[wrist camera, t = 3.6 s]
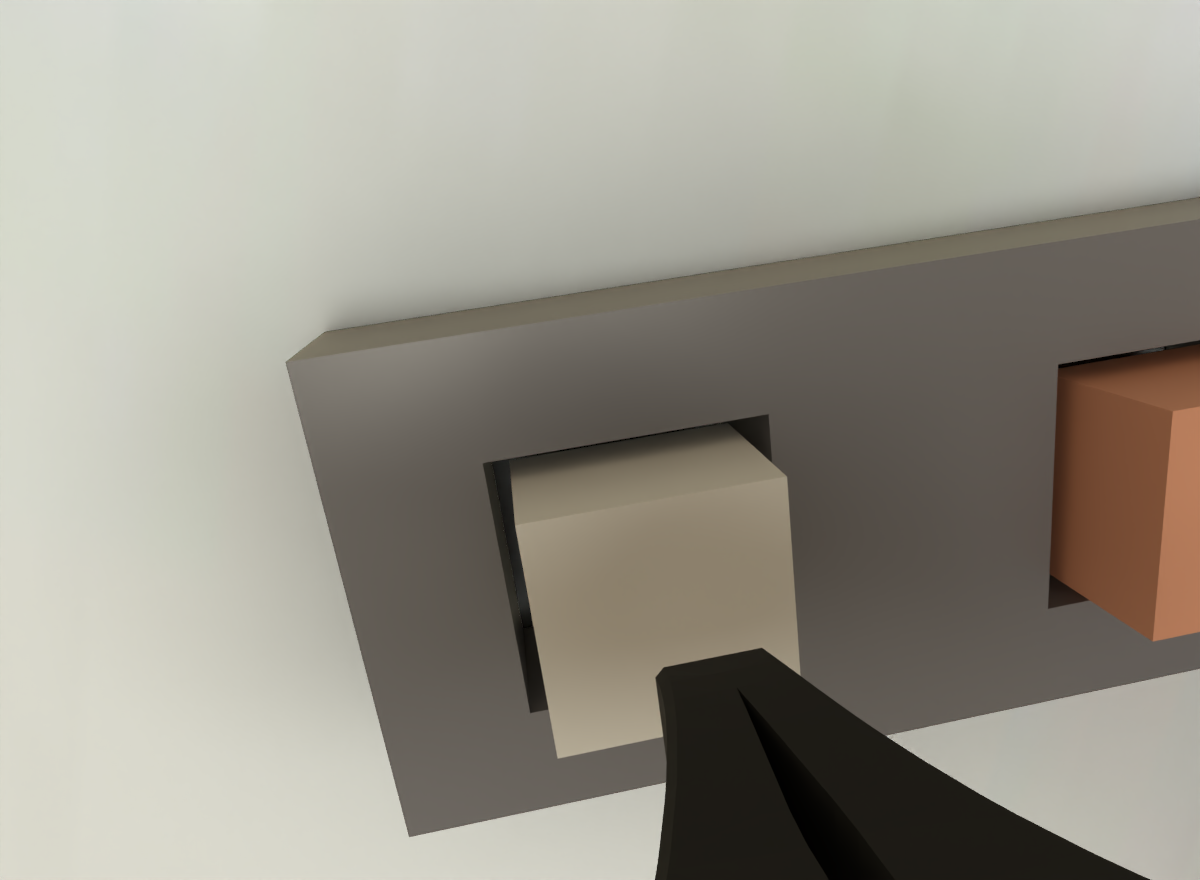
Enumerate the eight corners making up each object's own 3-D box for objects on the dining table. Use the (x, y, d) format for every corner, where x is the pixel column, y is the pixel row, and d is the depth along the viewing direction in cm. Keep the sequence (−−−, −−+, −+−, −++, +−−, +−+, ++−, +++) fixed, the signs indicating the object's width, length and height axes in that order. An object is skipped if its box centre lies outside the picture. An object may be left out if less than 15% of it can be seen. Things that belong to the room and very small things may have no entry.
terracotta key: (1234, 338, 15) (1408, 368, 12) (1213, 528, 16) (1367, 596, 13) (1040, 371, 15) (1172, 410, 12) (1033, 563, 16) (1152, 641, 13)
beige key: (727, 422, 14) (786, 477, 12) (745, 616, 16) (802, 707, 13) (509, 459, 14) (514, 525, 11) (544, 655, 15) (557, 758, 12)
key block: (1291, 183, 17) (1459, 178, 14) (1244, 567, 19) (1375, 631, 16) (325, 332, 15) (285, 362, 12) (421, 734, 17) (408, 837, 15)
